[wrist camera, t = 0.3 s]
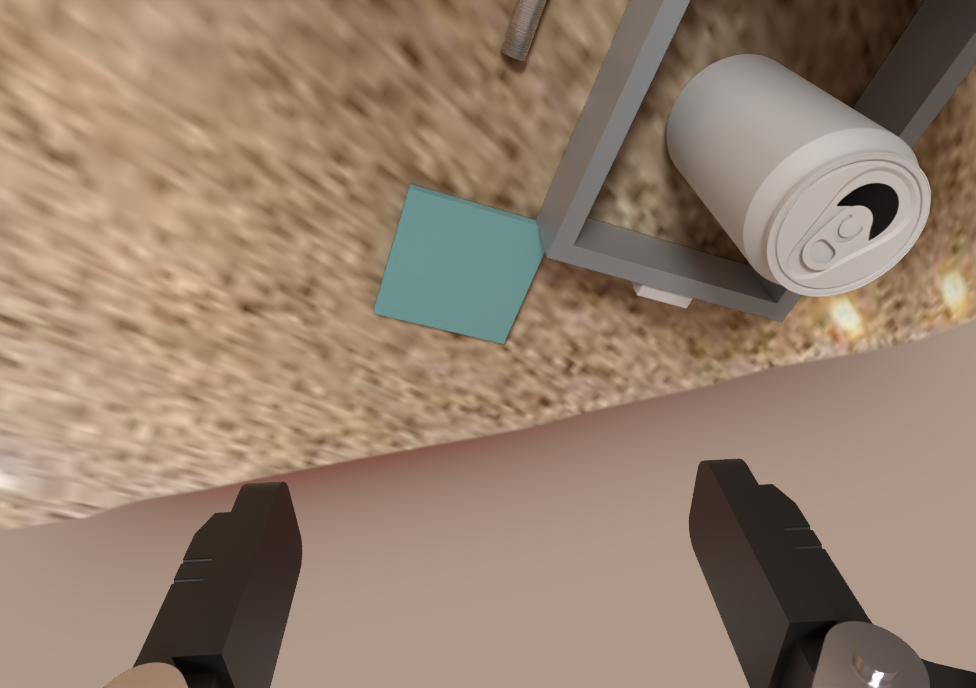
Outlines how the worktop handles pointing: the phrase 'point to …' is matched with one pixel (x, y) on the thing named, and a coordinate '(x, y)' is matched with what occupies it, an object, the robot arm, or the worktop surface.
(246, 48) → the worktop surface
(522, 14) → the rod
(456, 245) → the pad
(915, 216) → the beverage can
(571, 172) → the case
